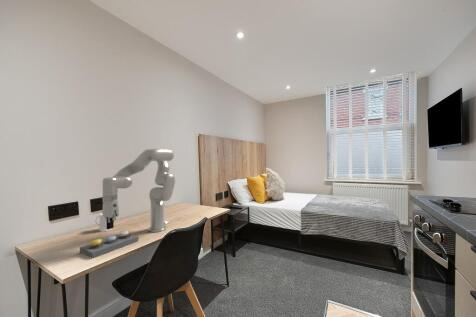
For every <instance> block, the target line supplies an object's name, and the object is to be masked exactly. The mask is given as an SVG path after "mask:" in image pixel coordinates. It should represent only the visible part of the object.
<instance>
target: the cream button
mask: <svg viewBox="0 0 476 317" xmlns="http://www.w3.org/2000/svg"><path fill="white" fill-rule="evenodd" d="M128 234H130V233H129V229H128V230H127V229H126V230H125V229H124V230H121V231H119V235H120V236H126V235H128Z"/></svg>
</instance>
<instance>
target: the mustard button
mask: <svg viewBox="0 0 476 317" xmlns="http://www.w3.org/2000/svg"><path fill="white" fill-rule="evenodd" d="M102 240H103V239H102V238H95V239H92V240H91V241H90V244H91V246H96V245H99V244H101V243H102Z"/></svg>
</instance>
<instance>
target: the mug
mask: <svg viewBox="0 0 476 317" xmlns="http://www.w3.org/2000/svg"><path fill="white" fill-rule="evenodd" d="M98 218H99V223H98ZM95 224H96V225H97V226H98V227H99V228H98V231H99V232H101V233H102V232H108V231H112V230H113V229H114V228H112V229H109V230H108V229H107V222H106V218H104V216H103V214H102V213H99V215H97V216H96V218H95Z"/></svg>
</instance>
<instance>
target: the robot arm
mask: <svg viewBox="0 0 476 317" xmlns="http://www.w3.org/2000/svg"><path fill="white" fill-rule="evenodd" d="M174 158H175V153H174V152H173V151H172V150H170V149H161V148H160V149H158V148H148V149H144V150H143V151H142V153H140V154H139V155H138V156H137V158H135V159H134V160H133V161H132V162H131V163H129V164H128V165H125V166H124V167H122V168H120V169H119V170H118V171H117V172H116V173H115V174H114V175H113V176H112V177H104V178H103V179H102V210H101V211H102V214H103V216H104V218H106V222H107V229H108V230H109V229H112V228H113V229H114V227H115V226H114V224H115V223H114V222H115V220H117V217H119V216H120V211H119V210H120V209H119V208H120V207H119V201H118V190H119V189H129V188H130V187H132V184H133V180H132V178H131V176H133V175H135V174H138V173H140V172H143V171H144V170H145V169H146V168H147V167H148V165H149V164H151V162H156V163H157V170H156V174H155V178H154V183H155V185H157V186H156V187H153V188H151V189H150V191H149V193H148V194H149V195H148V196H149V202H150V227H149V228H148V231H149V232H150V233H158V232H159V233H160V232H163V231H165V230H166V229H167V225H169V224H170V221H168V220H167V221H165V202H169V200H171V198H172V196H173V193H174V188H175V184H176V177H175V175H174V174H172V173H170V164H169V162H171V161H173V159H174ZM158 186H159V187H158ZM161 186H162V187H161ZM113 229H112V230H113ZM109 231H110V230H109Z"/></svg>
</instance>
